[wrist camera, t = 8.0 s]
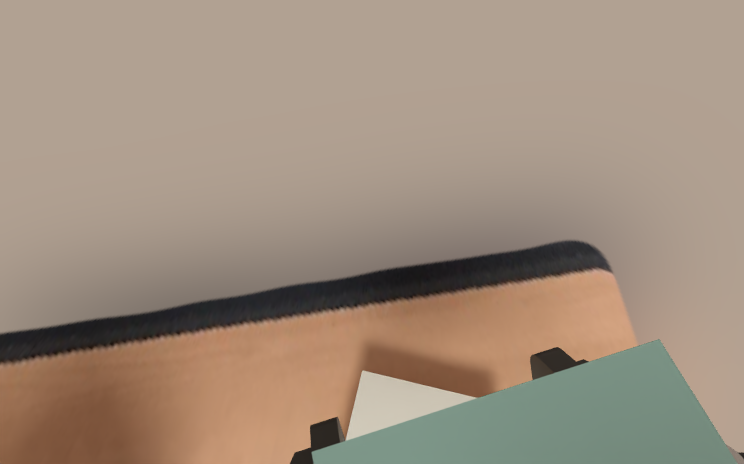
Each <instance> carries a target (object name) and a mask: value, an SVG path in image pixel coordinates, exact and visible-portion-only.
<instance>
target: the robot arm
mask: <svg viewBox="0 0 744 464" xmlns="http://www.w3.org/2000/svg"><path fill="white" fill-rule="evenodd" d="M587 362H589V361H586V360H584V359H583V360H580V361H577V362H576V361H575V360H573V359H572V358H571V357H570V356H569V355H568V354H566V353H565V352H564V351H563V350H562V349H560V348H558V347H556V348H553V349H549V350H546V351H543V352H540V353H537V354H534V355H532V356H531V358H530V363H531V371H532V378H533V380H535V379H538V378H541V377H544V376H547V375H550V374H553V373H556V372H559V371H562V370H566V369H569V368H572V367H575V366H578V365H581V364H584V363H587ZM310 435H311V448H308V449H305V450H302V451H299V452H296V453H295V454H294V456H293V458H292V460H291V462H290V464H314V462H313V457H312V452H313V451H316V450H319V449H322V448H325V447H328V446H331V445H335V444H338V443H341V442H344V441H345V438H344V435H343V432H342V429H341V425H340V422H339V419H338V417H335V418H332V419H329V420H326V421H323V422H320V423H316V424H313V425H311V426H310ZM726 446H727V445H726ZM727 448H728V449H729V451H730V452H731V454H732V456H733V457H734V459H735V460H736V462H737V463H738V464H744V453H737V452H736V451H735V450H734V449H732V448H731V447H729V446H727Z"/></svg>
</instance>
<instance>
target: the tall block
mask: <svg viewBox="0 0 744 464" xmlns="http://www.w3.org/2000/svg"><path fill="white" fill-rule="evenodd" d="M312 457H313V462H314V464H738V463H737V462H736V460H735V459H734V457H733V456H732V454H731V452H730V451H729V449H728V448H727V446H726V444H725V443H724V441H723V440H722V438H721V436H720V435H719V434H718V432H717V430H716V429H715V427H714V425H713V424H712V422H711V421H710V419H709V417H708V416H707V414H706V413H705V411H704V410H703V408H702V406H701V405H700V403H699V402H698V400H697V398H696V397H695V395H694V394H693V392H692V390H691V389H690V387H689V386H688V384H687V382H686V381H685V379H684V378H683V376H682V374H681V373H680V371H679V370H678V368H677V367H676V365H675V363H674V362H673V360H672V359H671V357H670V356H669V354H668V352H667V351H666V349H665V347H664V346H663V344H662V343H661V341H660V340H659V339H658V340H655V341H652V342H649V343H646V344H643V345H639V346H636V347H633V348H630V349H627V350H624V351H621V352H618V353H615V354H612V355H609V356H606V357H603V358H599V359H596V360H593V361H590V362H587V363H584V364H581V365H578V366H575V367H572V368H569V369H566V370H562V371H559V372H556V373H553V374H550V375H547V376H544V377H541V378H538V379H535V380H532V381H529V382H525V383H522V384H519V385H516V386H513V387H510V388H507V389H504V390H501V391H498V392H495V393H492V394H489V395H485V396H482V397H479V398H476V399H473V400H470V401H467V402H464V403H461V404H458V405H455V406H452V407H448V408H445V409H442V410H439V411H436V412H433V413H430V414H427V415H424V416H421V417H418V418H415V419H412V420H408V421H405V422H402V423H399V424H396V425H393V426H390V427H387V428H384V429H381V430H378V431H375V432H371V433H368V434H365V435H362V436H359V437H356V438H353V439H350V440H347V441H344V442H341V443H338V444H335V445H331V446H328V447H325V448H322V449H319V450H316V451H313V452H312Z"/></svg>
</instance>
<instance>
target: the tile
mask: <svg viewBox="0 0 744 464" xmlns="http://www.w3.org/2000/svg"><path fill="white" fill-rule="evenodd" d="M473 399H476V397H471V396H467V395H463V394H459V393H455V392H451V391H446V390H442V389H438V388H434V387H430V386H426V385H421V384H417V383H413V382H409V381H405V380H401V379H396V378H392V377H388V376H384V375H380V374H376V373H371V372H367V371H363V370H362V374H361V378H360V382H359V386H358V391H357V395H356V399H355V403H354V407H353V412H352V416H351V420H350V424H349V428H348V432H347V437H346V441H347V440H350V439H353V438H356V437H359V436H362V435H365V434H368V433H371V432H375V431H378V430H381V429H384V428H387V427H390V426H393V425H396V424H399V423H402V422H405V421H408V420H412V419H415V418H418V417H421V416H424V415H427V414H430V413H433V412H436V411H439V410H442V409H445V408H448V407H452V406H455V405H458V404H461V403H464V402H467V401H470V400H473Z"/></svg>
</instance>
